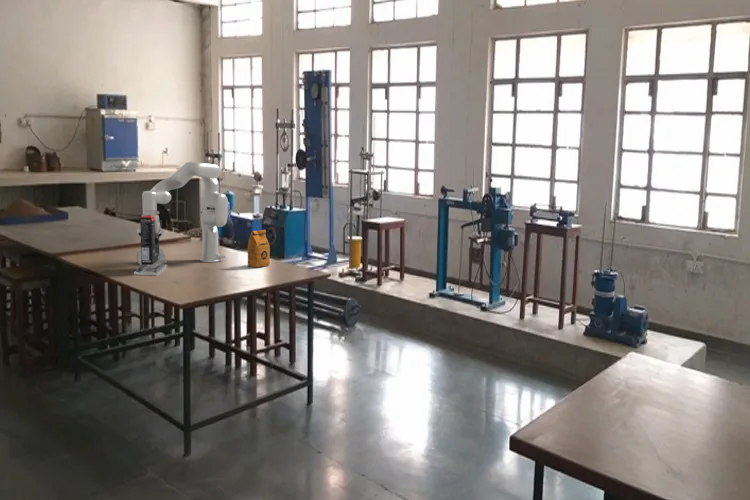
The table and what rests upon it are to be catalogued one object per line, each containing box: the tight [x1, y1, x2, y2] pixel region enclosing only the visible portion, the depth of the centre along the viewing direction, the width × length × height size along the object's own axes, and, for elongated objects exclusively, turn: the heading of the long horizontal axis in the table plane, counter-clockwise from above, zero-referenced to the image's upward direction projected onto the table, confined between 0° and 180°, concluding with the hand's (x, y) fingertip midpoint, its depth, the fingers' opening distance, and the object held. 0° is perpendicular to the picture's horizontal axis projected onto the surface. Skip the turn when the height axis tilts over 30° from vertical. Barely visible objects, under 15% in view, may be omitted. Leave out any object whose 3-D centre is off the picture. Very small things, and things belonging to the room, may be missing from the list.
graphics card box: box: [139, 213, 160, 265], centre depth 384 cm, size 17×7×27 cm, turn 5°
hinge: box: [136, 248, 167, 266], centre depth 408 cm, size 17×5×10 cm, turn 125°
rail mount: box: [133, 261, 168, 276], centre depth 386 cm, size 13×22×4 cm, turn 4°
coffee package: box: [247, 229, 271, 268], centre depth 408 cm, size 10×12×22 cm
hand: (150, 244), depth 384 cm, fingers closed on graphics card box, 6 cm apart
